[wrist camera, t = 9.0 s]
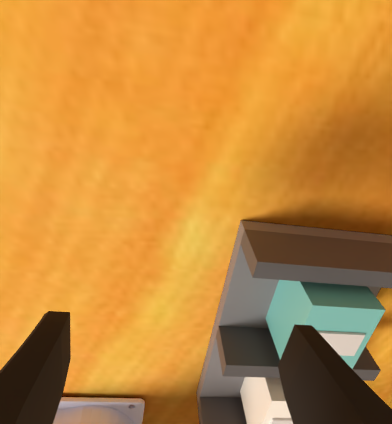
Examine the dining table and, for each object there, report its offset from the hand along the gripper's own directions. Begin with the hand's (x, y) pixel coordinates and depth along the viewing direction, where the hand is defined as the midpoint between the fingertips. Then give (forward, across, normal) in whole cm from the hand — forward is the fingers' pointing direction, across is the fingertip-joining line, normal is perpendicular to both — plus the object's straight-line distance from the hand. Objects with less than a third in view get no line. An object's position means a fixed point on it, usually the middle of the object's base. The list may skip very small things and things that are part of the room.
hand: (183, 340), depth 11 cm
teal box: (+8, -9, +5) cm, 13 cm away
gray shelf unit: (+9, -9, +8) cm, 16 cm away
